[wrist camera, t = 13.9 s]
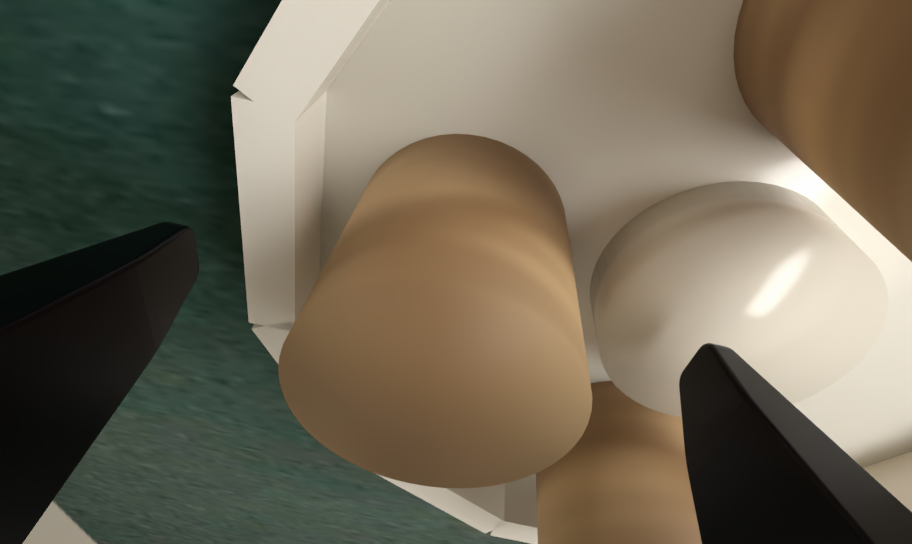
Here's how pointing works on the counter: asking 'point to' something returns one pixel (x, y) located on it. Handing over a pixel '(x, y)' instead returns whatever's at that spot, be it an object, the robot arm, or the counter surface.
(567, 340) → the bead
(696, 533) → the tan rounded piece
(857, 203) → the bead
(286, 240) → the tray
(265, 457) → the counter surface
